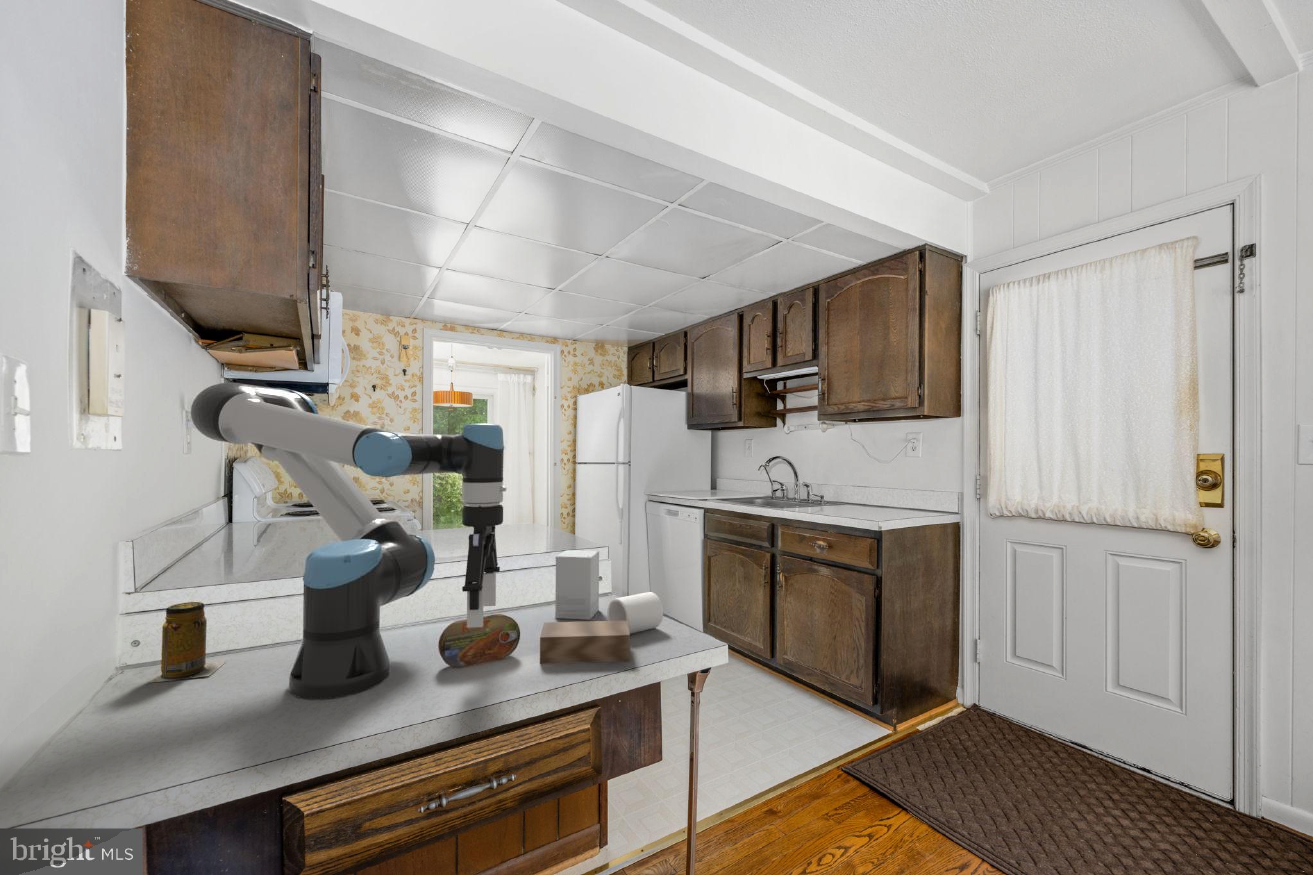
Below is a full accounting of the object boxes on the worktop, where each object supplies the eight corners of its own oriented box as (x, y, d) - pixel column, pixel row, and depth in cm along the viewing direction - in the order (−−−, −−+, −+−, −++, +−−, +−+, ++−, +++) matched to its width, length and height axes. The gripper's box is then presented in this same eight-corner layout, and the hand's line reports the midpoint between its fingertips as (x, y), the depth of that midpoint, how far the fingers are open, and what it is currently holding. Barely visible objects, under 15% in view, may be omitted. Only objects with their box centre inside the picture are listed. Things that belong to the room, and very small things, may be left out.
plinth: (539, 663, 105) (540, 637, 105) (543, 647, 114) (543, 622, 114) (629, 660, 107) (629, 634, 107) (626, 644, 116) (626, 620, 116)
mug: (663, 631, 125) (663, 595, 126) (627, 640, 119) (628, 603, 119) (631, 618, 135) (631, 585, 135) (596, 626, 128) (597, 591, 129)
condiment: (170, 667, 101) (172, 601, 102) (225, 662, 104) (227, 597, 104) (148, 683, 94) (150, 612, 95) (208, 677, 97) (210, 608, 97)
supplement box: (599, 609, 141) (600, 550, 141) (590, 620, 132) (591, 557, 133) (565, 607, 142) (566, 549, 143) (553, 618, 134) (555, 555, 134)
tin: (440, 672, 101) (441, 625, 101) (436, 666, 104) (437, 621, 104) (520, 656, 109) (521, 613, 109) (515, 651, 112) (515, 609, 112)
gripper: (492, 511, 95) (491, 636, 95) (511, 498, 120) (511, 597, 119) (446, 511, 94) (445, 638, 94) (475, 498, 119) (475, 598, 118)
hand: (482, 615), depth 106 cm, fingers open, 13 cm apart
